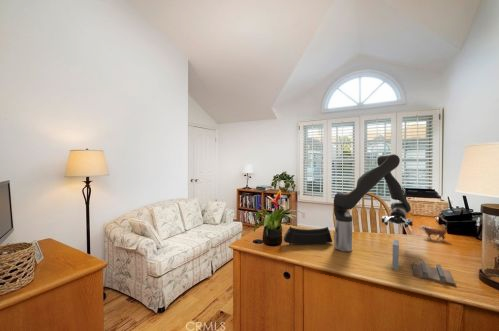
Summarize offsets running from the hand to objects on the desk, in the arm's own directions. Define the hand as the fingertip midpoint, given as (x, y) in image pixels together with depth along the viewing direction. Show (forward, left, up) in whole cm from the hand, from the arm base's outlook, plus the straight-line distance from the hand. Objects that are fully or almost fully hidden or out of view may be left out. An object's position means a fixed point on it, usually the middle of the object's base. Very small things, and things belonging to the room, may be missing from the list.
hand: (395, 224), depth 118 cm
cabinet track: (+14, -11, -18) cm, 26 cm away
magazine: (-46, -8, -18) cm, 50 cm away
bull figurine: (+20, +48, -18) cm, 55 cm away
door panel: (0, -11, -18) cm, 21 cm away
